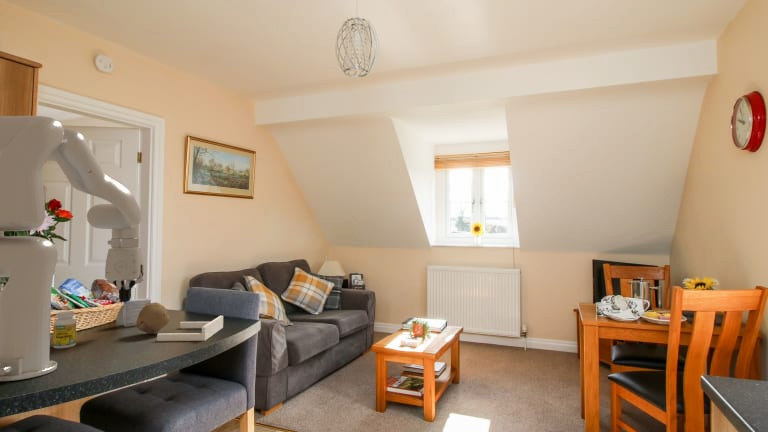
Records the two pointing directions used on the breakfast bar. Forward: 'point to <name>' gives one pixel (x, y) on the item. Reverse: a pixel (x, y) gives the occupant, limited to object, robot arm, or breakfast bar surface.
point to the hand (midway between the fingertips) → (125, 301)
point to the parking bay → (207, 332)
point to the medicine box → (133, 310)
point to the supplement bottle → (64, 330)
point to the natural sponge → (152, 318)
